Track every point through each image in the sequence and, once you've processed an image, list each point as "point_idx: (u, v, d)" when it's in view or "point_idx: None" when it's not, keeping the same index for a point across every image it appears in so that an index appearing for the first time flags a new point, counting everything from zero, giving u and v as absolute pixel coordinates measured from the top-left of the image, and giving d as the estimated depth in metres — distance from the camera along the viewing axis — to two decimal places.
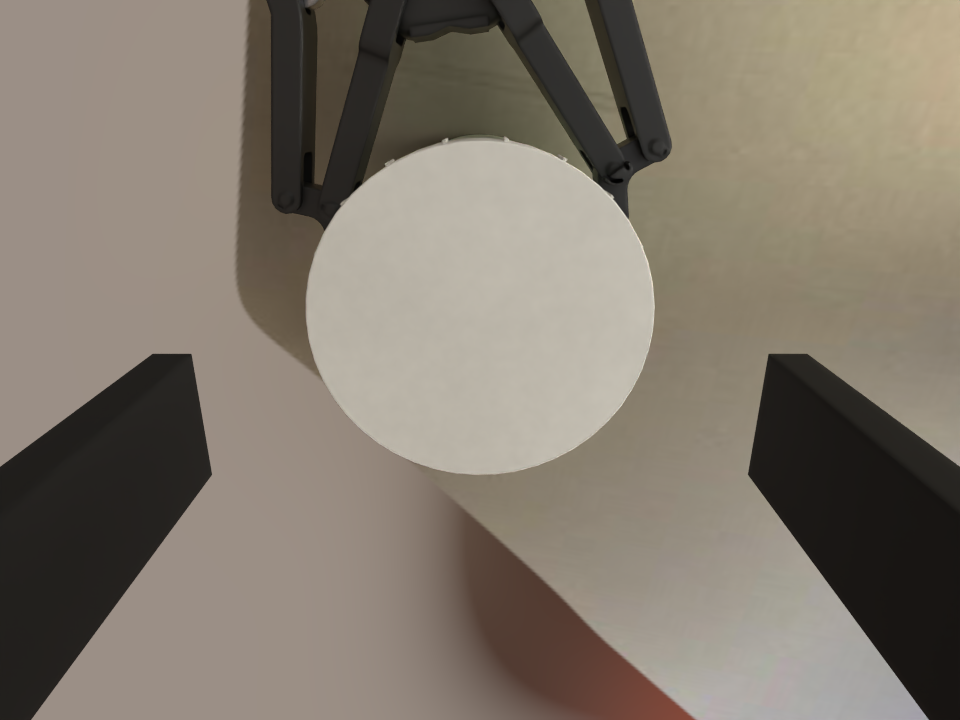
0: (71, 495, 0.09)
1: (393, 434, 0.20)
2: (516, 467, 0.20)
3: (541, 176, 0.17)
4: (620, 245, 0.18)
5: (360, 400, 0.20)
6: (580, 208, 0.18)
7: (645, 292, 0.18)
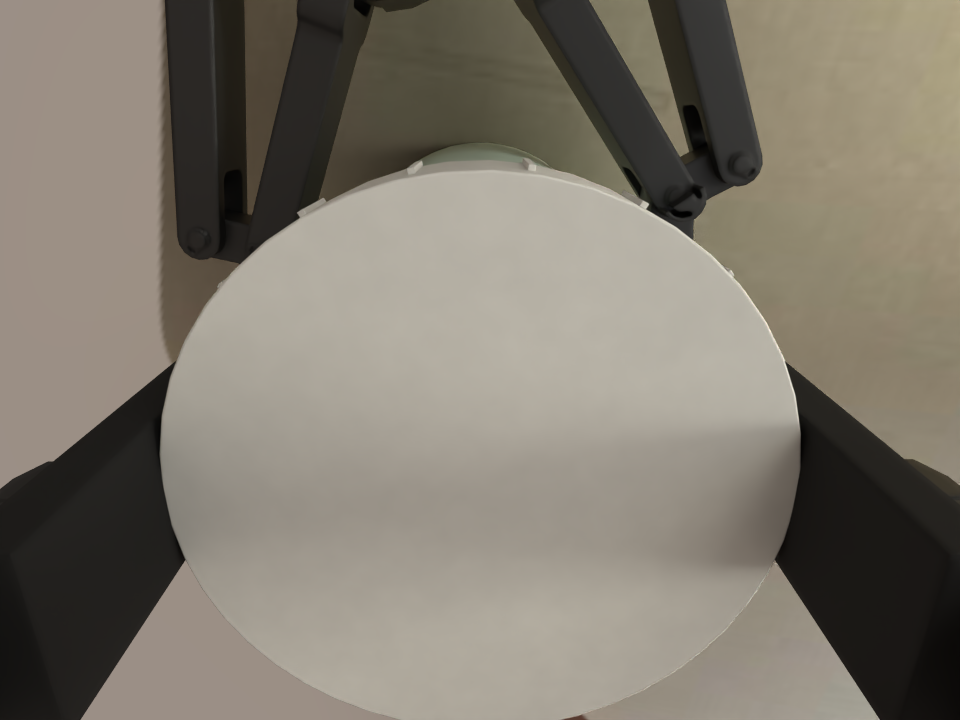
0: (130, 480, 0.09)
1: (330, 670, 0.12)
2: (542, 718, 0.12)
3: (601, 239, 0.09)
4: (746, 365, 0.09)
5: (270, 619, 0.11)
6: (673, 298, 0.09)
7: (786, 446, 0.10)
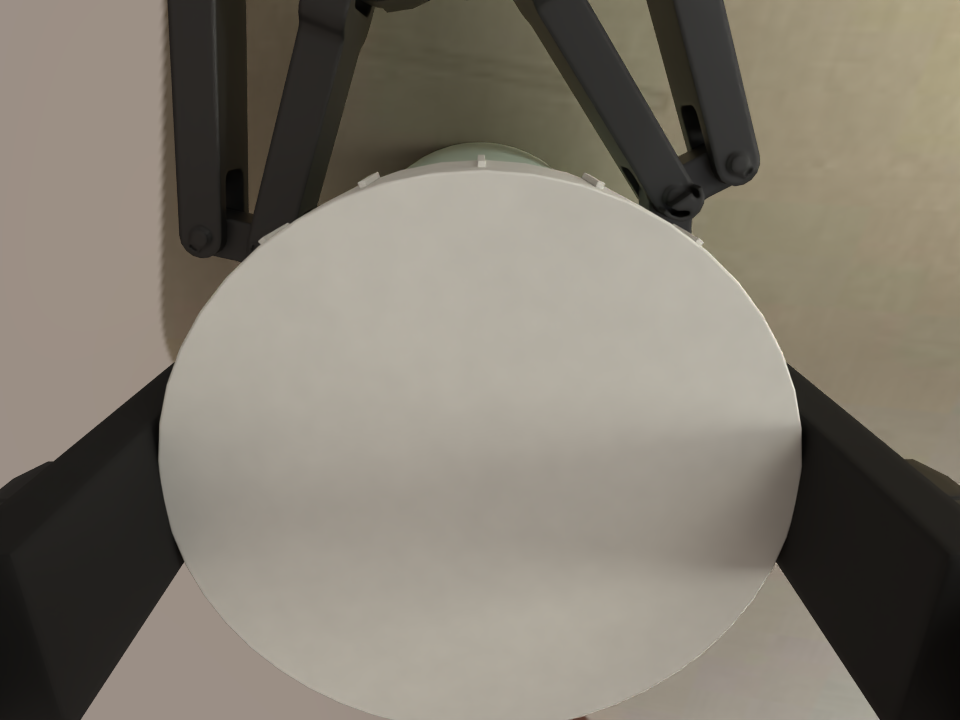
0: (131, 480, 0.09)
1: (666, 649, 0.11)
2: (792, 466, 0.10)
3: (212, 379, 0.09)
4: (344, 240, 0.09)
5: (592, 684, 0.12)
6: (269, 315, 0.09)
7: (448, 190, 0.09)
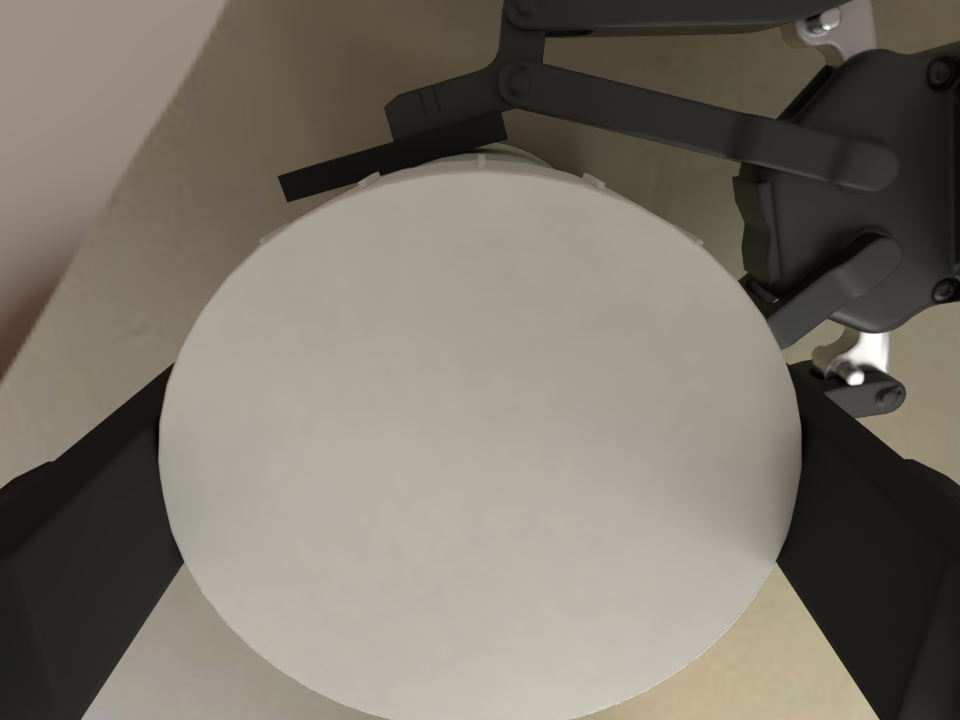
0: (131, 480, 0.09)
1: (666, 649, 0.11)
2: (792, 466, 0.10)
3: (212, 379, 0.09)
4: (344, 240, 0.09)
5: (591, 684, 0.12)
6: (270, 315, 0.09)
7: (448, 190, 0.09)
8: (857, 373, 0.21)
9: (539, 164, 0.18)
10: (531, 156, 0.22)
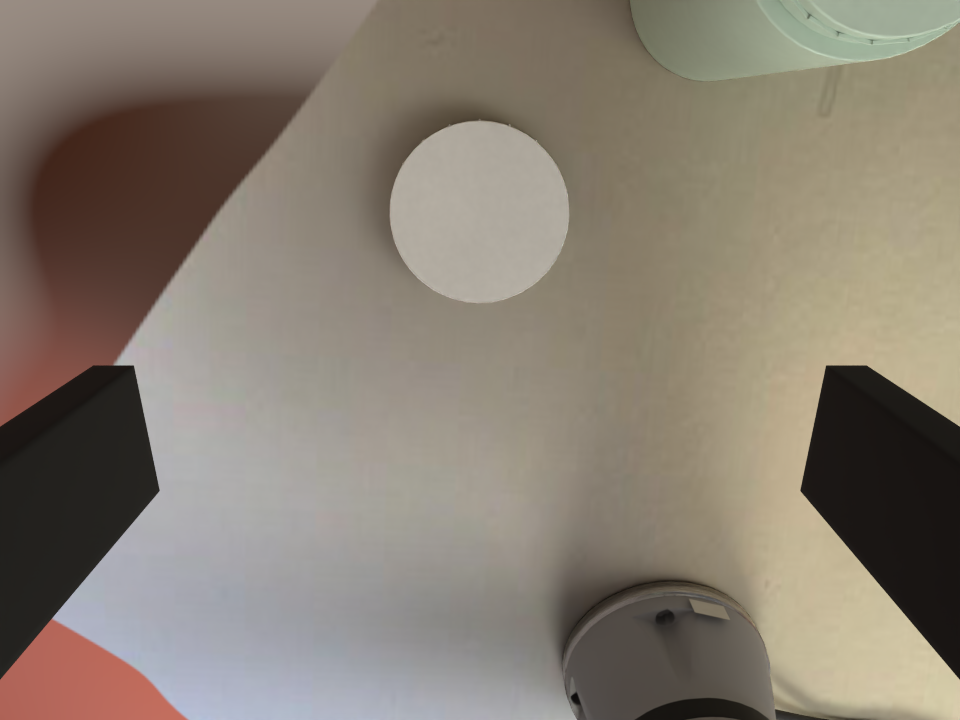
0: None
1: (535, 270, 0.37)
2: (566, 205, 0.36)
3: (407, 178, 0.35)
4: (445, 139, 0.35)
5: (514, 283, 0.38)
6: (424, 159, 0.35)
7: (471, 126, 0.35)
8: None
9: None
10: None
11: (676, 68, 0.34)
